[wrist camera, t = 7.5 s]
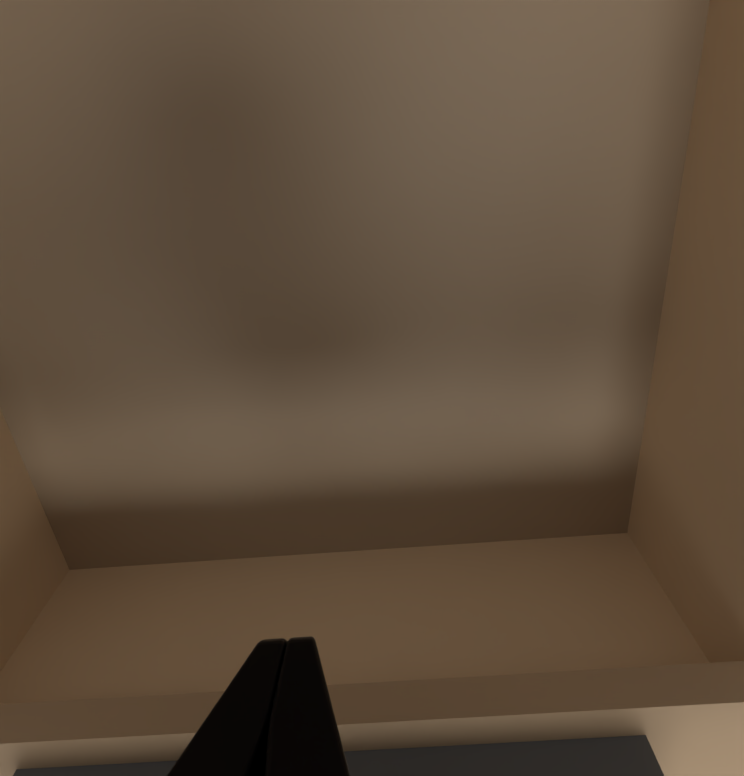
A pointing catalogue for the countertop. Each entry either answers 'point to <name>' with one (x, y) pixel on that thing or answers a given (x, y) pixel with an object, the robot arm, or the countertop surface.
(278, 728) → the robot arm
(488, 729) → the carton lid
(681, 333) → the carton
